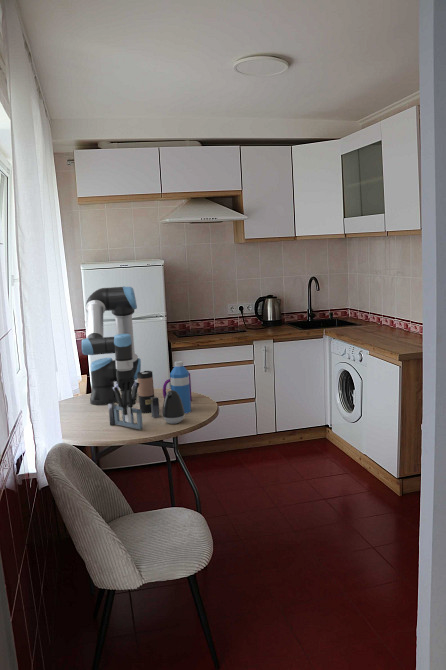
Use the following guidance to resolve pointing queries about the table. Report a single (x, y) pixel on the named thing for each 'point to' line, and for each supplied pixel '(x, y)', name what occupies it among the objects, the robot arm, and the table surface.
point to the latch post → (154, 406)
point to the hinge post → (111, 413)
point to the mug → (169, 381)
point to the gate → (132, 424)
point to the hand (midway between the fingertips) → (128, 421)
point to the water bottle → (181, 384)
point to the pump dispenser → (173, 408)
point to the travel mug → (145, 390)
